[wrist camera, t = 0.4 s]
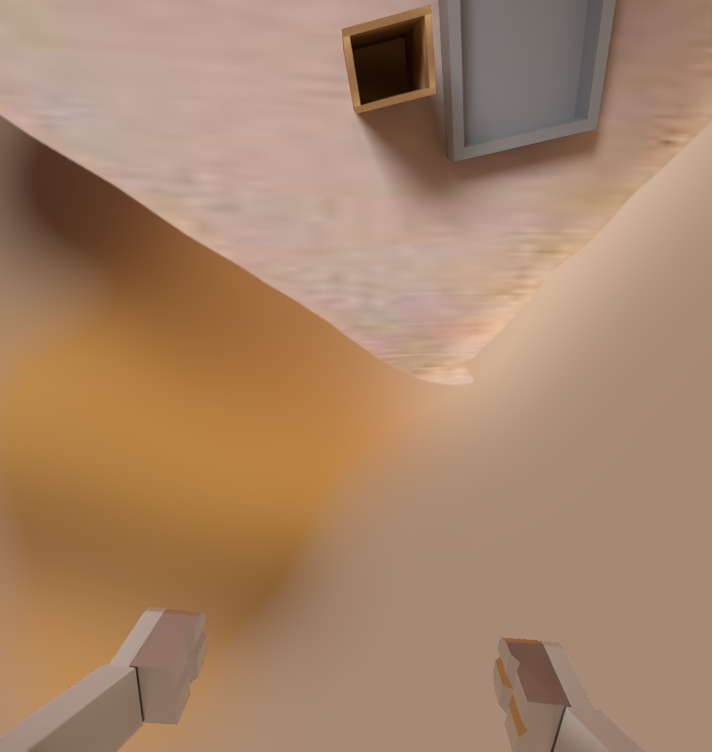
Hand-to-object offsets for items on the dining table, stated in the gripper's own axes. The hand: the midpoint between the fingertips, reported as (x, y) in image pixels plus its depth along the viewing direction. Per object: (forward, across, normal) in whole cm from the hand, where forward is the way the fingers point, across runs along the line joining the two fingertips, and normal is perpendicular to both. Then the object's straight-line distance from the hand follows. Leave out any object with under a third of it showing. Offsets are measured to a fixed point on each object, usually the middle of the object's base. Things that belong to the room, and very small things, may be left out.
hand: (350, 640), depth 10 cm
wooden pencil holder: (+42, +1, -31) cm, 52 cm away
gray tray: (+42, -14, -35) cm, 56 cm away
